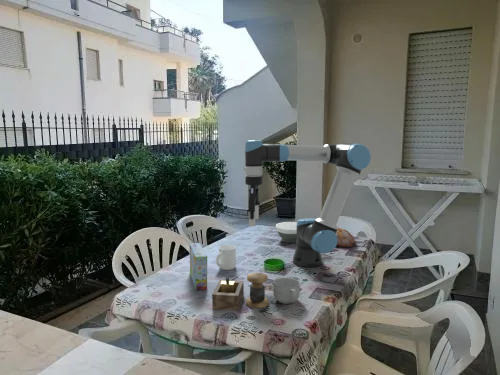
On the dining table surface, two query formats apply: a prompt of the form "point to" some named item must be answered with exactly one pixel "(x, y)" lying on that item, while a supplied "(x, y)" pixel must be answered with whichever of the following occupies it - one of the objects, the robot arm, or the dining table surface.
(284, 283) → the teacup
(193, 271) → the snack box
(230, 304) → the open wooden crate
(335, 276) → the dining table surface
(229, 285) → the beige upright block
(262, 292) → the bobbin
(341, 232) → the bread
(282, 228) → the bowl
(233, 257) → the mug
